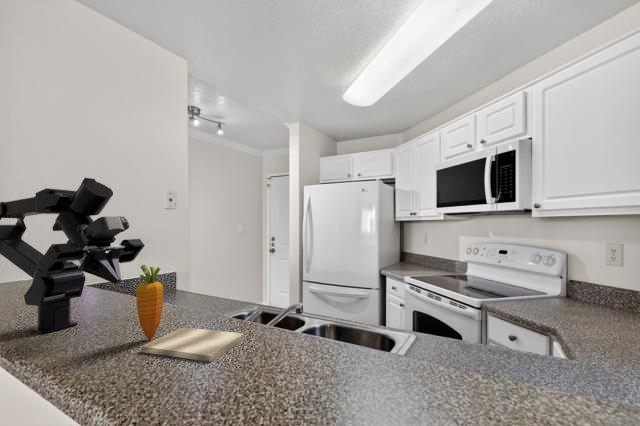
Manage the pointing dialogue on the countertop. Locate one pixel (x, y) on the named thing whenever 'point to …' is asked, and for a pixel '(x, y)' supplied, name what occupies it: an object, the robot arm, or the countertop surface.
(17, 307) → the countertop surface
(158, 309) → the carrot
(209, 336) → the cutting board
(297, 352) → the countertop surface
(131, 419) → the countertop surface
